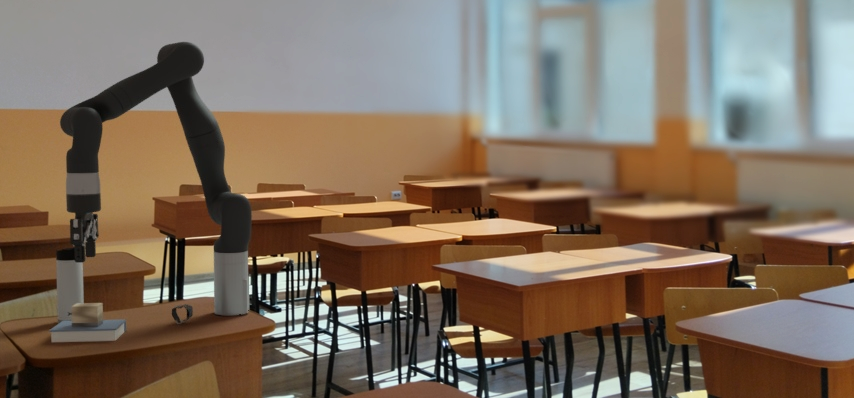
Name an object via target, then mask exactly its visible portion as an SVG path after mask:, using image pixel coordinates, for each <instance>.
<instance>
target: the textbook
mask: <svg viewBox="0 0 854 398" xmlns="http://www.w3.org/2000/svg"><path fill="white" fill-rule="evenodd" d="M126 332H127V319H123V318H122V319H103V324H101V325H100V326H98V327H72V321H62V322H61V323H57V324H56V325H55V326H53V327H52V328H51V329H49V333H51V334H50V335H51V339H50V340H51V343H71V342H72V343H73V342H74V343H75V342H76V343H77V342H82V343H83V342H115V341H116V340H118V339H119V337H121V336H122V335H123V334H124V333H126Z"/></svg>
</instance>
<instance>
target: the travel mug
mask: <svg viewBox="0 0 854 398" xmlns="http://www.w3.org/2000/svg"><path fill="white" fill-rule="evenodd" d="M55 253H56V255H55V256H56V257H55V258H56V261H55V263H56V265H55V266H56V298H57V299H56V303H57V306H56V307H57V308H56V309H57V324H59V323H61V322H62V321H72V313H71V306H73V305H75V304H77V303H85V302H84V301H85V300H84V269H83V267H84V262H80V263H77V262H75V252H74V247H67V248H61V249H56V252H55Z"/></svg>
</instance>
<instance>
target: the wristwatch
mask: <svg viewBox="0 0 854 398" xmlns="http://www.w3.org/2000/svg"><path fill="white" fill-rule="evenodd" d="M182 308H184V309H185V311H186V318H185V319H183V320H182V321H181V319H180V317H179V315H178V313H177V309H182ZM193 315H194V310H193V306H192V305H190V304H187V303H185V304H183V305H182V304H181V305H180V304H179V305H176V306H174V307H173V308H172V309H171V316H172V318H173V320H174V321H176V324H177V325H182V324H184V323H186V322H187V321H189V320H190V319H191V318H192V316H193Z"/></svg>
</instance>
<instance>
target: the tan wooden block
mask: <svg viewBox="0 0 854 398" xmlns="http://www.w3.org/2000/svg"><path fill="white" fill-rule="evenodd" d="M103 305H104V303H103V302H84V303H77V304H75V305H73V306H71V313H72V327H98V326H100V325H101V324H103V320H104V309H103V308H104V306H103Z"/></svg>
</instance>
